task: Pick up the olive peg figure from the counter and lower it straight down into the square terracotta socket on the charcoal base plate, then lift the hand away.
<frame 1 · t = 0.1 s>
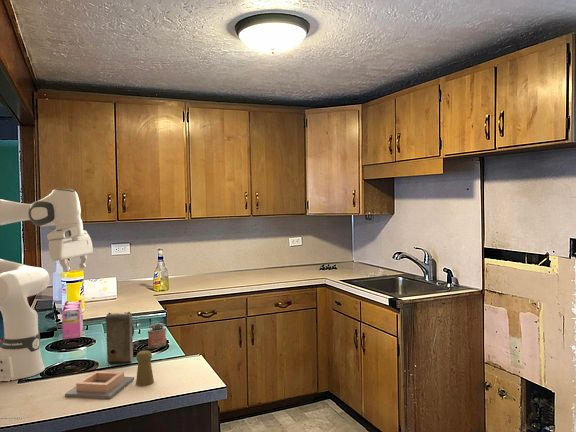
hand: (75, 269, 170), 39 cm above the worktop, fingers open, 8 cm apart
socket block: (101, 387, 159), on the worktop
lighter: (157, 346, 204), on the worktop
vintage camera: (124, 357, 190), on the worktop
gum box: (73, 332, 229), on the worktop
olive peg figure: (145, 383, 163), on the worktop
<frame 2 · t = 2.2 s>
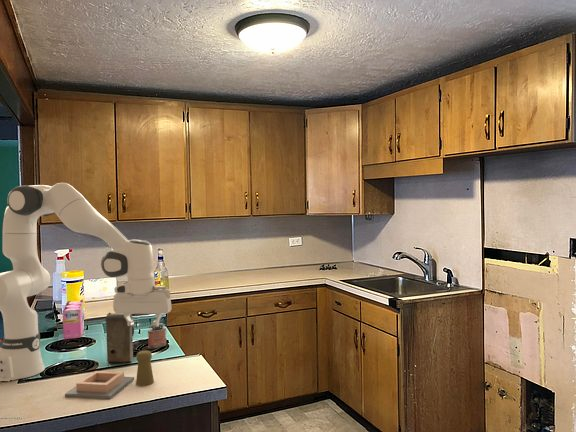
hand: (143, 325, 162), 20 cm above the worktop, fingers open, 8 cm apart
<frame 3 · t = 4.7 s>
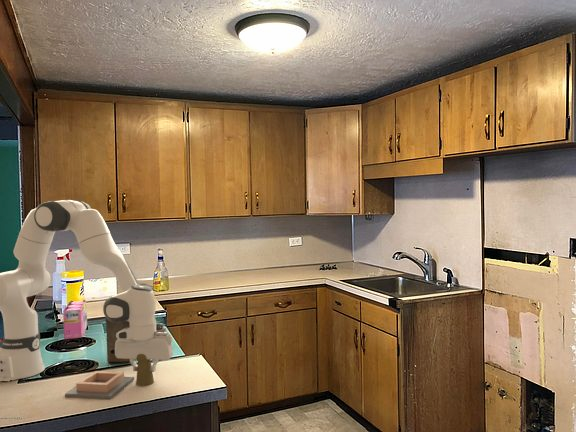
hand: (144, 371, 163), 4 cm above the worktop, fingers closed on olive peg figure, 5 cm apart
olive peg figure: (145, 383, 163), on the worktop, touching gripper
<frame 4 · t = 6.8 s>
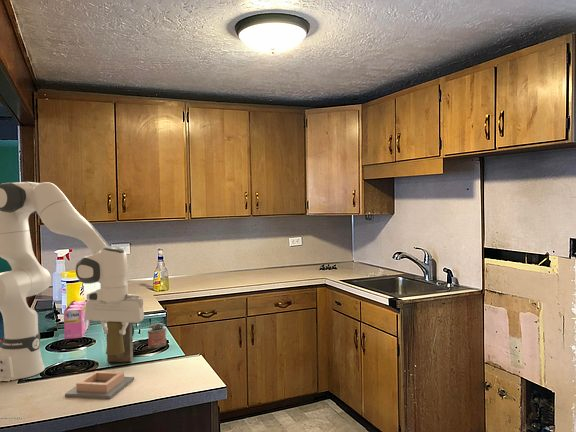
hand: (114, 333, 160), 18 cm above the worktop, fingers closed on olive peg figure, 4 cm apart
olive peg figure: (115, 352, 161), point 11 cm above the worktop, touching gripper
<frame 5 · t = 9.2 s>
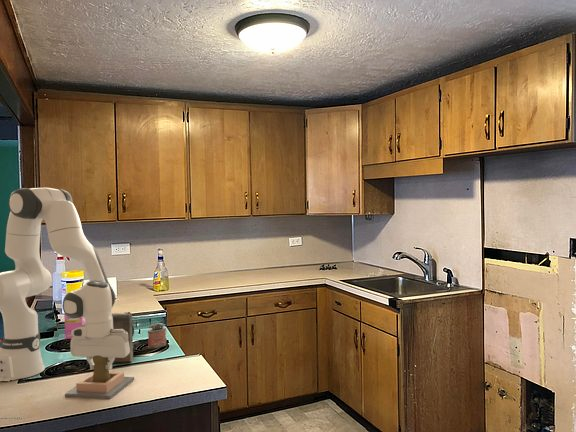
hand: (101, 369, 159), 6 cm above the worktop, fingers closed on olive peg figure, 4 cm apart
olive peg figure: (101, 385, 159), point 1 cm above the worktop, touching gripper, socket block
when the fingers open (6 cm above the worktop, at t = 9.9 s): olive peg figure stays where it is, resting on socket block.
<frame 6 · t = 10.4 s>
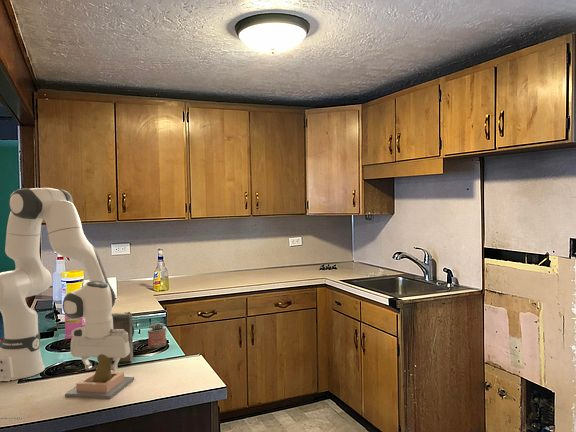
hand: (101, 369, 159), 6 cm above the worktop, fingers open, 8 cm apart
olive peg figure: (101, 383, 159), point 1 cm above the worktop, touching gripper, socket block
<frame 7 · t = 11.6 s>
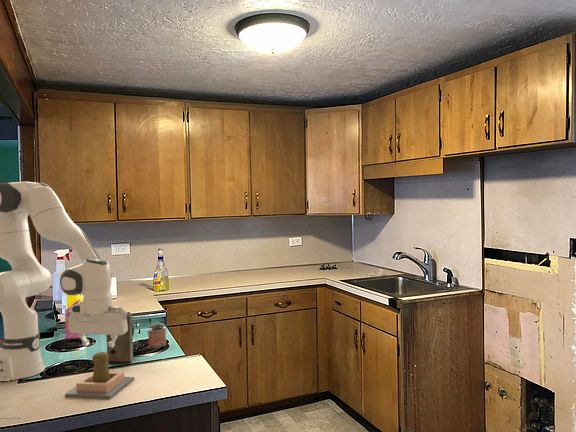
hand: (98, 346, 159), 14 cm above the worktop, fingers open, 8 cm apart
olive peg figure: (101, 385, 159), point 1 cm above the worktop, touching socket block
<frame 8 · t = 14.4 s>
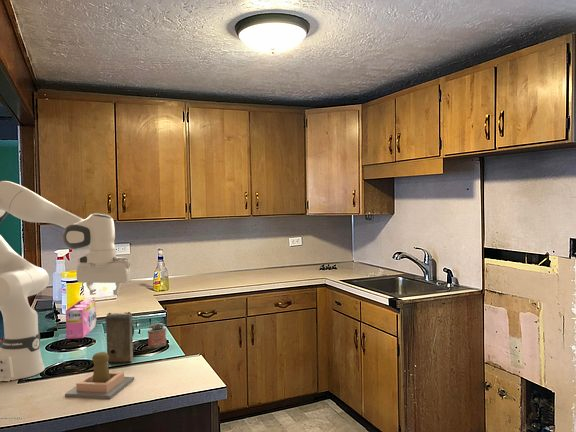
hand: (104, 294, 173), 29 cm above the worktop, fingers open, 8 cm apart
at the end: olive peg figure 0.2 cm off-centre on the socket block, point 0.8 cm above the socket block's base; olive peg figure tilted 0°; the gripper is holding nothing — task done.
